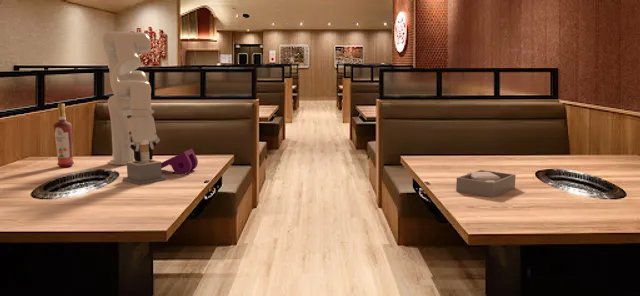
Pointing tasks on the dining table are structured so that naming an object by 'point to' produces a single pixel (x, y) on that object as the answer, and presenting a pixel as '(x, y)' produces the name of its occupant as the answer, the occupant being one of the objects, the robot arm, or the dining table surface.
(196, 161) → the mounting bracket
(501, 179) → the stand
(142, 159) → the sprinkles bottle
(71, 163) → the liquor
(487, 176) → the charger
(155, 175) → the well
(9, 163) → the dining table surface
